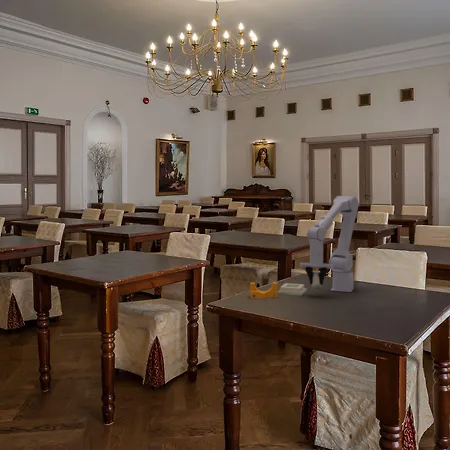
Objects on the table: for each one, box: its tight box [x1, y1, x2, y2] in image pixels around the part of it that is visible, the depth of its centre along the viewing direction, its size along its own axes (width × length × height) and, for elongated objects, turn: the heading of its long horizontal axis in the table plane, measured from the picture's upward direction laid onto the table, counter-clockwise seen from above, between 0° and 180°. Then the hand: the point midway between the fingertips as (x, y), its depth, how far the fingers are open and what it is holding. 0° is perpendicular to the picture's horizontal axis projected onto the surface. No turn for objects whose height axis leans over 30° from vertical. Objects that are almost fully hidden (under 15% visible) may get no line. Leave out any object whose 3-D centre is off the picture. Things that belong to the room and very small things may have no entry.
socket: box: [278, 282, 308, 297], centre depth 227 cm, size 11×11×3 cm
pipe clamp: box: [249, 281, 279, 300], centre depth 218 cm, size 12×4×6 cm, turn 88°
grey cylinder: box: [311, 271, 322, 290], centre depth 219 cm, size 4×4×7 cm
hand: (316, 284), depth 219 cm, fingers closed on grey cylinder, 4 cm apart
